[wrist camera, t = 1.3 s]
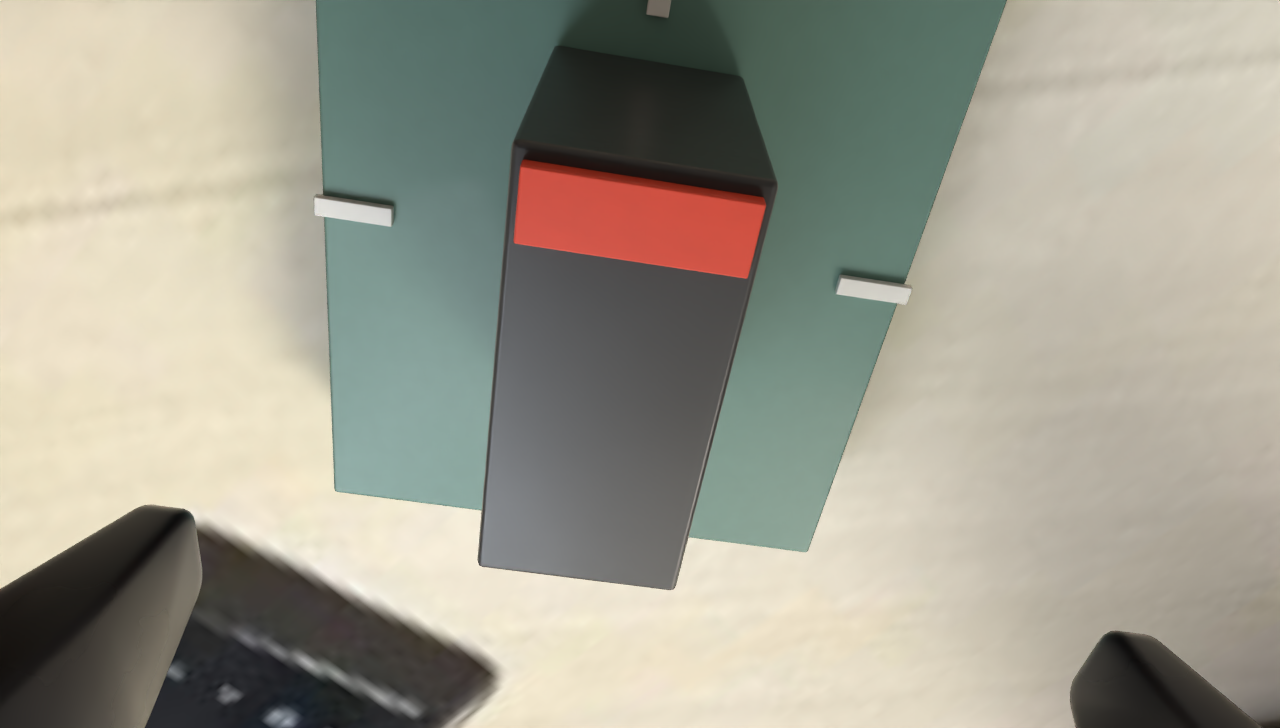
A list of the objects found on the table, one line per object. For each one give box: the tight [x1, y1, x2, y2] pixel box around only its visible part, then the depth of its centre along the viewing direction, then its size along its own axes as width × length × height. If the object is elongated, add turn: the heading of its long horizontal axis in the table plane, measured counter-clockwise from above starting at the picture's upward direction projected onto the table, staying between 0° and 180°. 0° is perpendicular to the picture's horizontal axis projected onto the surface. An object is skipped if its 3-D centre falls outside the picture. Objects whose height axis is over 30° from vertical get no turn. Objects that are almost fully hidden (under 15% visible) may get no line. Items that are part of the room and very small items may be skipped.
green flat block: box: [314, 0, 1007, 552], centre depth 17 cm, size 14×11×3 cm
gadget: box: [478, 46, 778, 590], centre depth 14 cm, size 7×3×5 cm, turn 171°
